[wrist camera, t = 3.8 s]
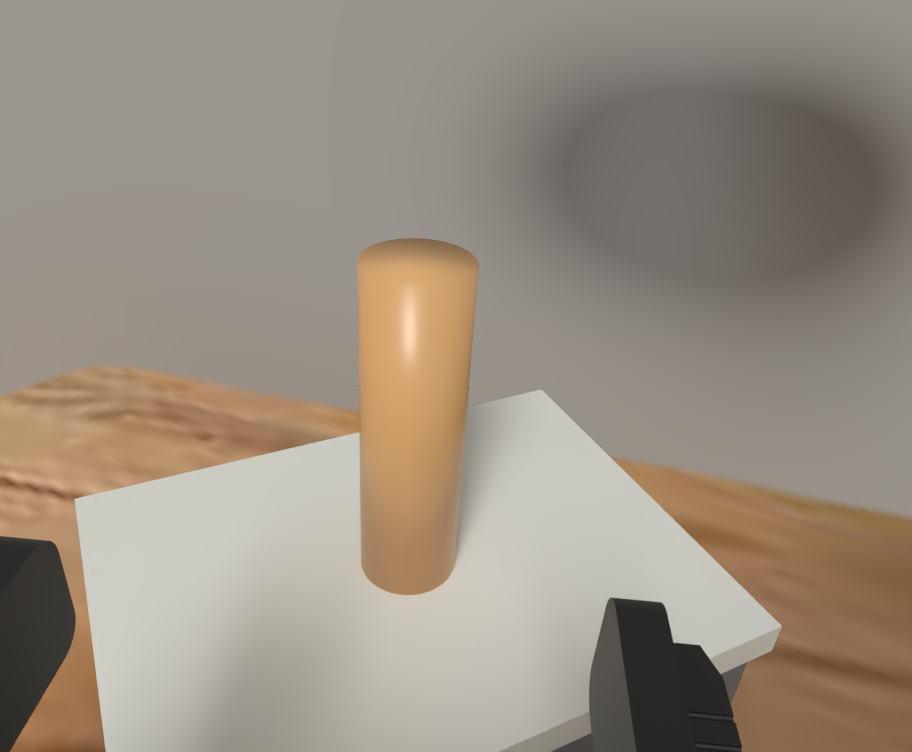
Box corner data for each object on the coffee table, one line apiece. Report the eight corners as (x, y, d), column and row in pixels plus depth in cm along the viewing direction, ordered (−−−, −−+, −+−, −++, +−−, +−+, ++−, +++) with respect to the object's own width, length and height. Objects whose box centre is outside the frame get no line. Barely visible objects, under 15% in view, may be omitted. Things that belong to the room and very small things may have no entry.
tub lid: (534, 437, 38) (574, 153, 30) (758, 681, 26) (908, 326, 19) (89, 554, 30) (-4, 206, 22) (145, 972, 19) (-3, 555, 11)
